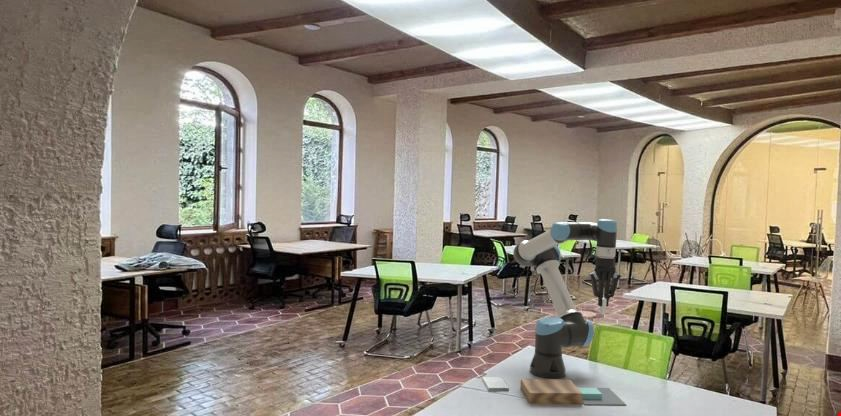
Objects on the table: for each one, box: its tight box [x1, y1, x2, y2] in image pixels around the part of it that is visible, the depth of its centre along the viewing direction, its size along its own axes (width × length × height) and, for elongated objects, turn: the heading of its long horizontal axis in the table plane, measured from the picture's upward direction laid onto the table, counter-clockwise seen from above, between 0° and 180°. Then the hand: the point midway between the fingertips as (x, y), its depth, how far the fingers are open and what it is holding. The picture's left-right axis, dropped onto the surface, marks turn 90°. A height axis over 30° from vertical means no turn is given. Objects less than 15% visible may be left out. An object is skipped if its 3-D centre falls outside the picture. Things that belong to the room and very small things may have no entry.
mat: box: [582, 387, 627, 406], centre depth 207 cm, size 16×16×1 cm
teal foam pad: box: [577, 387, 602, 399], centre depth 206 cm, size 9×6×2 cm, turn 93°
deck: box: [519, 378, 583, 405], centre depth 205 cm, size 20×14×4 cm
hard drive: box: [481, 376, 510, 392], centre depth 215 cm, size 2×8×12 cm
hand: (602, 313), depth 219 cm, fingers closed
